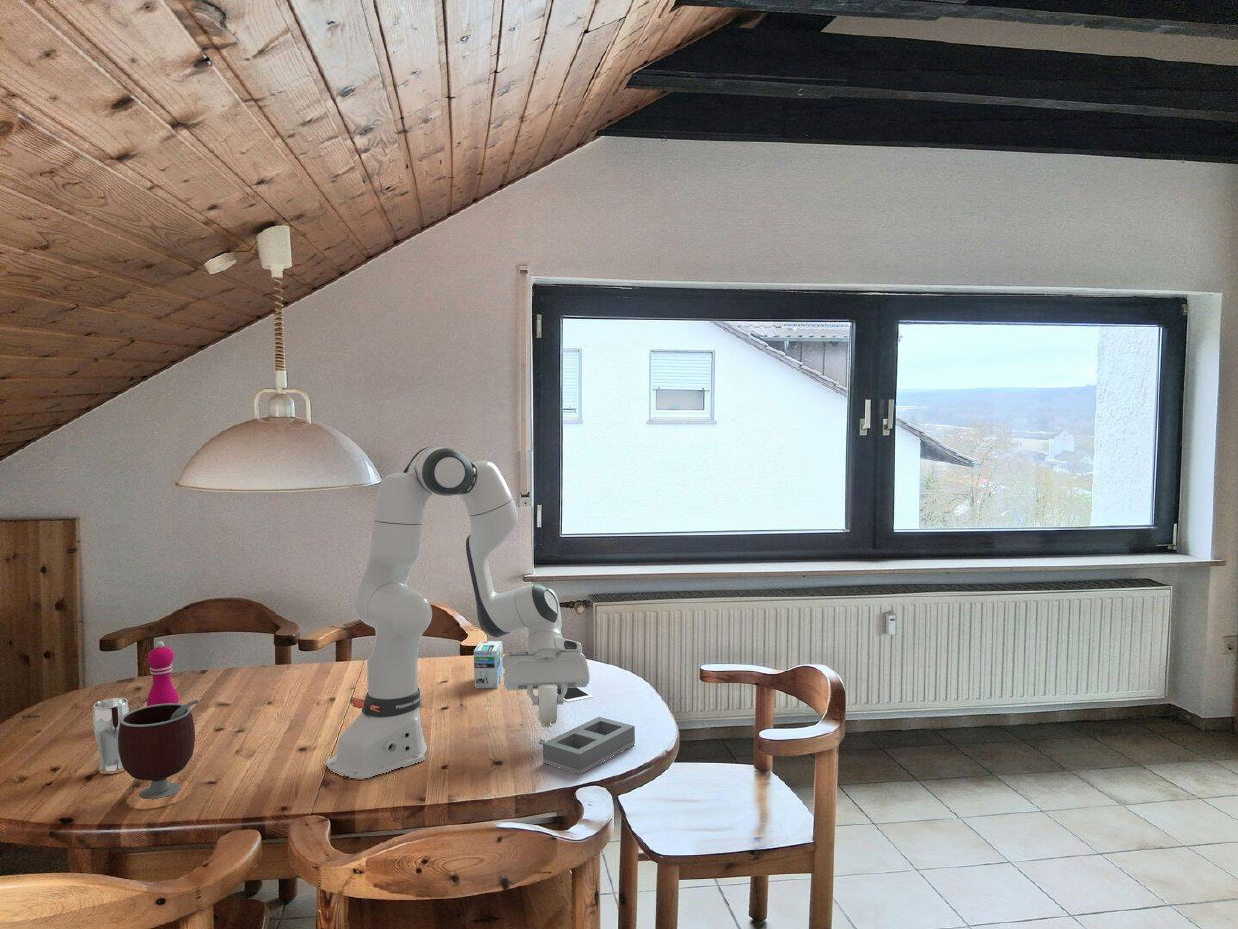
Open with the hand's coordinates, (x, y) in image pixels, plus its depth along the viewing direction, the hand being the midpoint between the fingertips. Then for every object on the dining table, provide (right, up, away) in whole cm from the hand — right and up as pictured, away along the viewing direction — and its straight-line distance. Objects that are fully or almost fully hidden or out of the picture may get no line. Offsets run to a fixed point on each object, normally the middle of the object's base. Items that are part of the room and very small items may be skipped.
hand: (547, 704), depth 206 cm
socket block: (+10, -10, -6) cm, 15 cm away
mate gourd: (-77, -12, -24) cm, 81 cm away
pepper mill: (-99, -9, +20) cm, 102 cm away
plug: (0, -5, +1) cm, 5 cm away
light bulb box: (-20, -7, +46) cm, 50 cm away
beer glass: (-94, -12, -11) cm, 96 cm away
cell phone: (+2, -7, +38) cm, 38 cm away
